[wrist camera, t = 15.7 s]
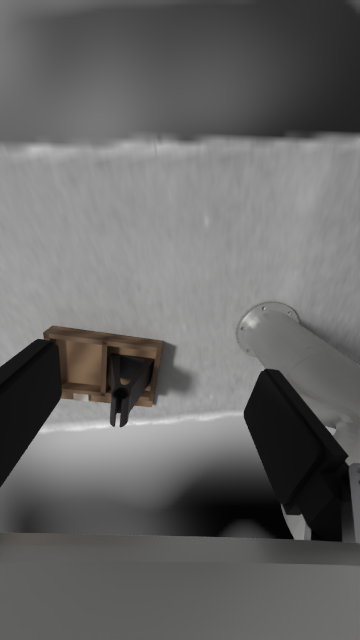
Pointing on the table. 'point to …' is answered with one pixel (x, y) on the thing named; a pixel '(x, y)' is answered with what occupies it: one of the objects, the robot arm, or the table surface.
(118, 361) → the phone stand
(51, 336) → the bay board
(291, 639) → the robot arm
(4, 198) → the table surface
